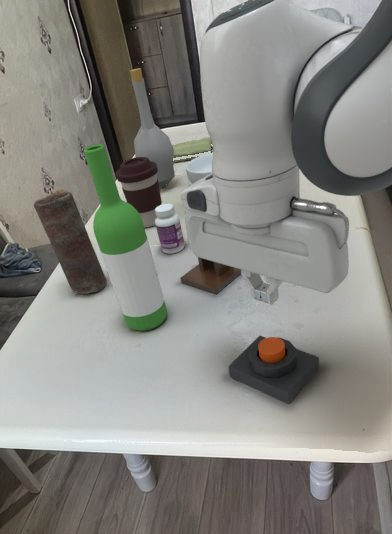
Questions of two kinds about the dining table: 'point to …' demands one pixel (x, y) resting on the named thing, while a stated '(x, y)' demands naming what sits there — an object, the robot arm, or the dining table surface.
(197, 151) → the washcloth
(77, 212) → the candle
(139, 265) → the wine bottle
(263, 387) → the block
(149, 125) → the bottle
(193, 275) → the lever bracket
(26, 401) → the dining table surface
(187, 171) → the cereal bowl
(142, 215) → the coffee cup
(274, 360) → the cylinder
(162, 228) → the pill bottle
